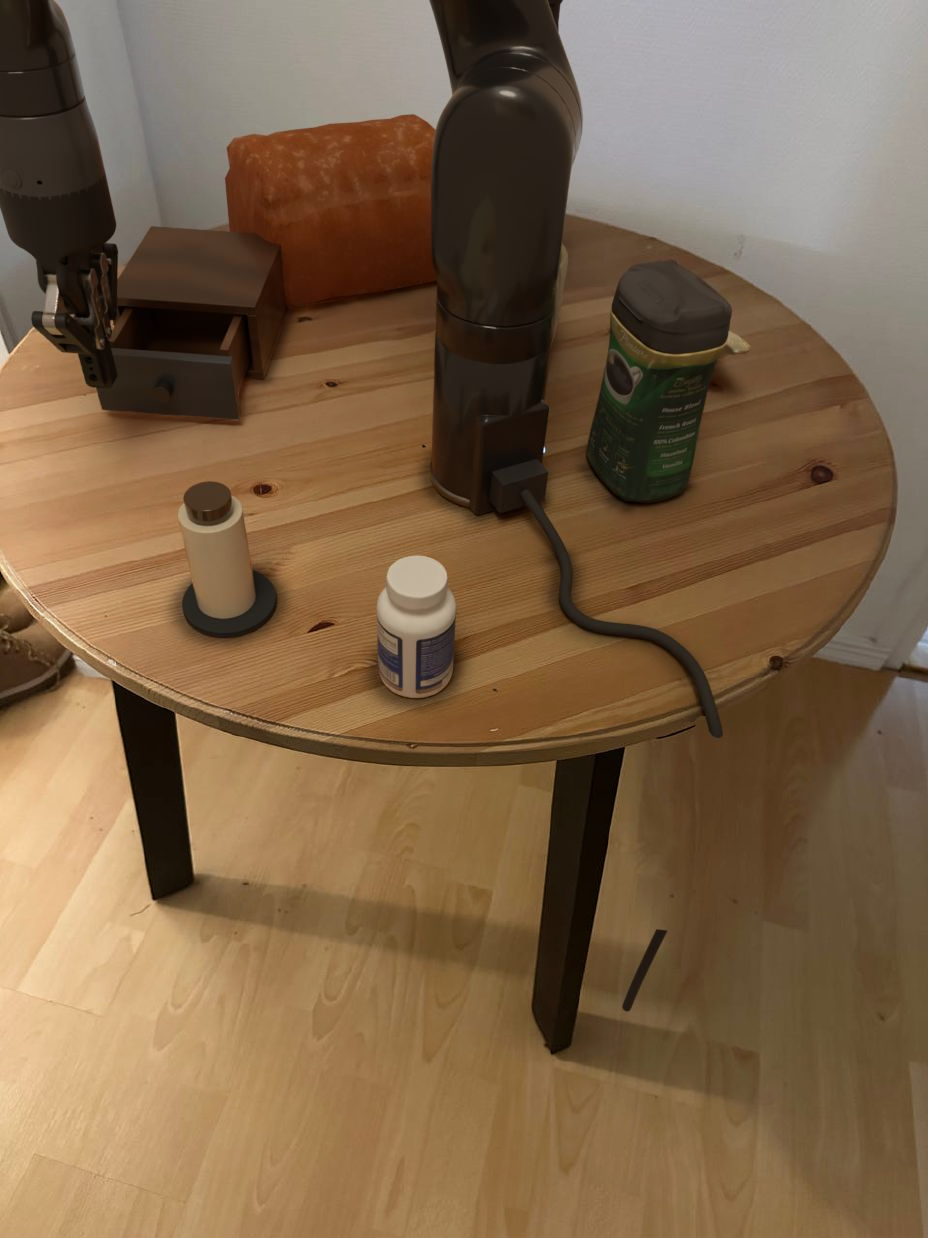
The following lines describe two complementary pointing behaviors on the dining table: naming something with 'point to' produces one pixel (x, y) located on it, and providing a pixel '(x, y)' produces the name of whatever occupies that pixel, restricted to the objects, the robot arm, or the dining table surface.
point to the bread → (338, 204)
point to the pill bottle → (416, 628)
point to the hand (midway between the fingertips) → (102, 382)
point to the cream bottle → (217, 550)
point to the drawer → (178, 363)
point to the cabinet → (210, 281)
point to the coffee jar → (656, 380)
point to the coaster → (235, 625)
